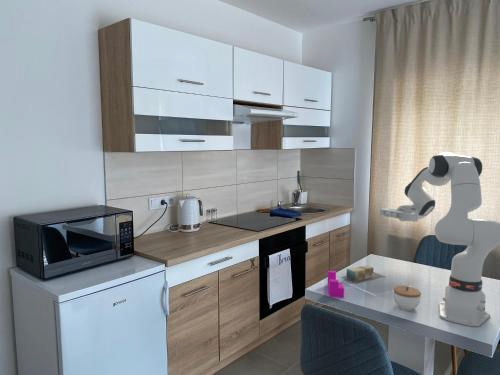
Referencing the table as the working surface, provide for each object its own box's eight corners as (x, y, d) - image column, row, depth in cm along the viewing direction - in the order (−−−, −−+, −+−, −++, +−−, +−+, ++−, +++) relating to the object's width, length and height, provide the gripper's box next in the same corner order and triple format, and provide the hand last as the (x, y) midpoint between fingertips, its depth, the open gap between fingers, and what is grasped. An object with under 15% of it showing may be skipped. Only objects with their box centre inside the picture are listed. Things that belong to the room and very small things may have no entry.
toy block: (343, 298, 172) (344, 282, 171) (329, 297, 173) (330, 281, 172) (340, 286, 187) (340, 271, 186) (327, 285, 187) (327, 270, 187)
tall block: (366, 265, 202) (346, 269, 195) (373, 267, 198) (353, 271, 191) (365, 274, 203) (346, 278, 196) (373, 277, 198) (353, 281, 191)
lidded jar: (392, 301, 168) (393, 280, 167) (418, 304, 165) (419, 283, 164) (393, 311, 158) (394, 289, 157) (421, 314, 155) (422, 292, 154)
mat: (370, 271, 209) (370, 270, 208) (386, 277, 199) (386, 276, 199) (340, 278, 198) (340, 277, 198) (355, 284, 188) (355, 283, 188)
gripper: (389, 205, 218) (372, 206, 212) (421, 210, 201) (403, 212, 194) (389, 215, 219) (372, 217, 212) (420, 222, 201) (402, 224, 195)
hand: (387, 215), depth 203 cm, fingers closed
